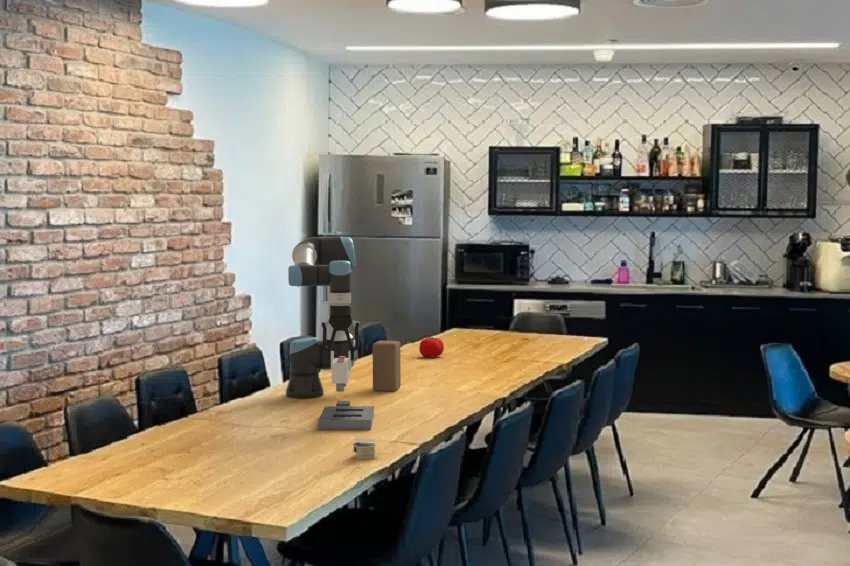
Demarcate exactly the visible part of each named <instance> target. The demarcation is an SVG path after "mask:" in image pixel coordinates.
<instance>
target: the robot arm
mask: <svg viewBox="0 0 850 566" xmlns="http://www.w3.org/2000/svg"><path fill="white" fill-rule="evenodd" d="M354 245H355V244H354V241H353V239H352V238H351V237H350V236H341V235H340V236H312V237H308V238H305V239H304V240H301V241H300V242H298V243H297V245H295V247H294V248H293V250H292V253H291V255H292V256H291V258H292V261H293V263H294V264H293V265H289V267H288V268H287V269H288V271H287V273H288V278H287V279H288V285H289V286H290V287H297V288H298V287H327V289H326V291H327V320H326V321H322V322H321V327H322V340H320V339H319V337H316V336H309V337H308V336H307V337H303V338H298V339H294V340H293V341H291V342H290V343H289V344H290V345H289V379H288V383H287V386H286V390H285V396H286V397H287V398H290V399H300V400H301V399H303V400H304V399H305V400H306V399H317V398H321V397H323V396H324V395H325V394H324V386H323V385H322V384H323V383H322V382H321V379H320V372H319V371H320V370H330V371H332V369H331V363H332V362H333V360H334V359H335V358H339V356H345V358H348V361H349V370H350V371H352V368H353V367H354V365H355V362H356V361H355V359H356V353H357V351H358V350H359V349H360V335H359V327H360V324H361V323H360V321H357V320H353V318H352V305H351V304H352V290H351V289H352V272H353V268H354V267H356V266H357V259H356V252H355V248H354ZM351 325H353V326H352V327H353V328H354V336H353V334H351V332H350V327H351ZM353 337H354V338H353Z"/></svg>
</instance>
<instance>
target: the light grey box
mask: <svg viewBox="0 0 850 566" xmlns="http://www.w3.org/2000/svg"><path fill="white" fill-rule="evenodd" d="M331 369H332V370H331ZM331 369H330V370H331V384H335V392H341V393H342V392H345V388H347V384H349V381H350V379H351V370H349V361H348V358H345V356H339V358H335V359H334V360H333V362H332V363H331Z"/></svg>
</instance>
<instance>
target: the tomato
mask: <svg viewBox="0 0 850 566" xmlns="http://www.w3.org/2000/svg"><path fill="white" fill-rule="evenodd" d="M418 348H419V353H420V354H421V356H422V357H424V358H437V357H440V356H441V355H442V354H443V353H444V349H445V344H444V341H443V340H442V339H441V338H438V337H426V338H423V339H422V340H421V341H420V343H419V347H418Z"/></svg>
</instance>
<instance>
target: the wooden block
mask: <svg viewBox="0 0 850 566" xmlns="http://www.w3.org/2000/svg"><path fill="white" fill-rule="evenodd" d="M401 365H402V364H401V342H400V341H399V340H378V341H376V342H373V344H372V390H373V391H374V392H396V391H397V390H399V389H400V388H401V386H402V385H401V384H402V383H401V370H402V369H401Z"/></svg>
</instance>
